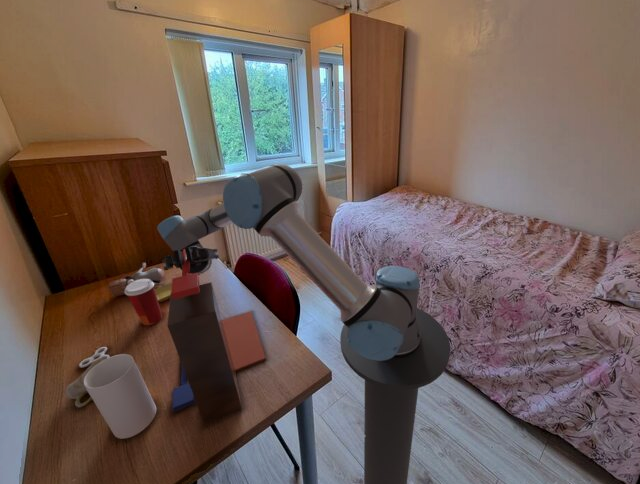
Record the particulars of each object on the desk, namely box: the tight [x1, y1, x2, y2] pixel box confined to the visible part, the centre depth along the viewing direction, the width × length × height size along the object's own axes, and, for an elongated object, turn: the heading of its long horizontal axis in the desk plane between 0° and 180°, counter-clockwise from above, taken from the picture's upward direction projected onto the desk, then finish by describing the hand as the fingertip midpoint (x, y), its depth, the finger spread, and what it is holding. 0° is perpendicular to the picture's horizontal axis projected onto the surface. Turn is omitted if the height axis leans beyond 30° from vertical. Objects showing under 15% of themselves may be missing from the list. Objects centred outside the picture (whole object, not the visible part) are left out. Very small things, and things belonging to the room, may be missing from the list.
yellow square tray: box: [154, 282, 172, 303], centre depth 107 cm, size 9×9×2 cm
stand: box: [167, 282, 243, 426], centre depth 63 cm, size 8×11×29 cm
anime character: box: [108, 262, 167, 297], centre depth 111 cm, size 25×6×18 cm
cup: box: [84, 353, 157, 439], centre depth 62 cm, size 8×8×16 cm
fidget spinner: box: [78, 346, 111, 368], centre depth 81 cm, size 7×6×1 cm
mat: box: [222, 311, 266, 372], centre depth 86 cm, size 12×22×1 cm, turn 27°
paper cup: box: [124, 279, 163, 326], centre depth 92 cm, size 8×8×14 cm
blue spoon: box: [172, 365, 196, 413], centre depth 75 cm, size 19×4×1 cm, turn 27°
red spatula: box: [171, 249, 200, 300], centre depth 60 cm, size 19×4×1 cm, turn 28°
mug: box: [65, 357, 107, 408], centre depth 71 cm, size 8×10×10 cm
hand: (182, 255), depth 60 cm, fingers closed on red spatula
